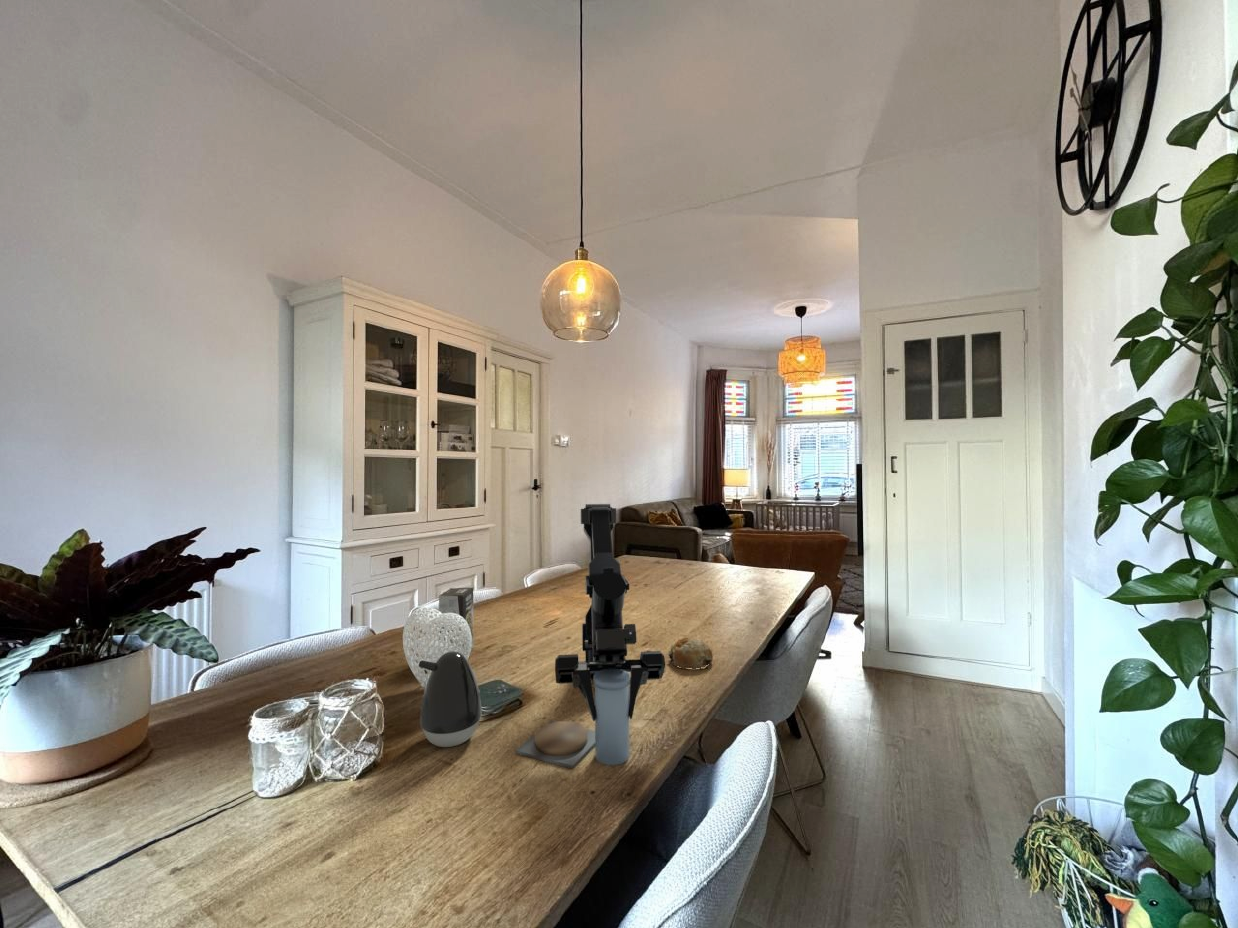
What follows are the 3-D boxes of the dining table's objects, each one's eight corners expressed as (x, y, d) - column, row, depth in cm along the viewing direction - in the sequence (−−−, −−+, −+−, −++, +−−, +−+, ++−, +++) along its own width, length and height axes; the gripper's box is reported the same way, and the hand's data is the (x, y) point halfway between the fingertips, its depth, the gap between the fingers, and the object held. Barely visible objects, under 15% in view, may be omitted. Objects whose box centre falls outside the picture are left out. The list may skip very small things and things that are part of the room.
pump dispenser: (419, 731, 92) (419, 646, 92) (478, 720, 96) (478, 639, 96) (418, 761, 83) (418, 667, 83) (484, 748, 86) (484, 658, 87)
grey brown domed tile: (515, 753, 85) (515, 743, 85) (551, 723, 95) (551, 714, 95) (572, 769, 80) (572, 758, 80) (604, 735, 90) (604, 726, 90)
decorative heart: (485, 691, 109) (484, 610, 109) (443, 711, 100) (442, 623, 100) (432, 673, 119) (431, 599, 119) (389, 690, 110) (389, 610, 110)
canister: (587, 760, 82) (586, 679, 83) (604, 742, 88) (603, 666, 88) (621, 769, 80) (620, 686, 80) (636, 750, 85) (635, 672, 85)
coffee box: (463, 660, 127) (463, 595, 127) (437, 660, 127) (437, 595, 127) (474, 647, 136) (474, 586, 136) (450, 647, 136) (450, 587, 136)
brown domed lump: (692, 688, 118) (705, 660, 116) (658, 660, 124) (669, 633, 122) (711, 674, 126) (724, 648, 124) (678, 649, 131) (690, 623, 129)
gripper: (555, 608, 87) (552, 702, 76) (662, 604, 89) (676, 696, 78) (557, 639, 95) (555, 729, 84) (656, 635, 97) (667, 723, 85)
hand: (612, 719), depth 83 cm, fingers closed on canister, 6 cm apart
